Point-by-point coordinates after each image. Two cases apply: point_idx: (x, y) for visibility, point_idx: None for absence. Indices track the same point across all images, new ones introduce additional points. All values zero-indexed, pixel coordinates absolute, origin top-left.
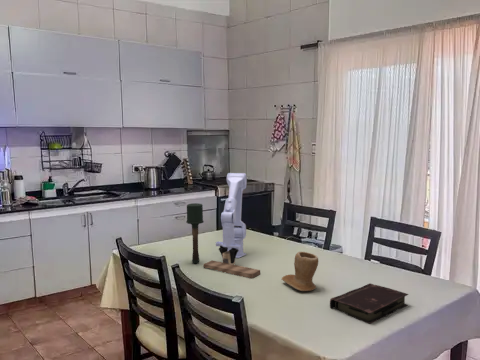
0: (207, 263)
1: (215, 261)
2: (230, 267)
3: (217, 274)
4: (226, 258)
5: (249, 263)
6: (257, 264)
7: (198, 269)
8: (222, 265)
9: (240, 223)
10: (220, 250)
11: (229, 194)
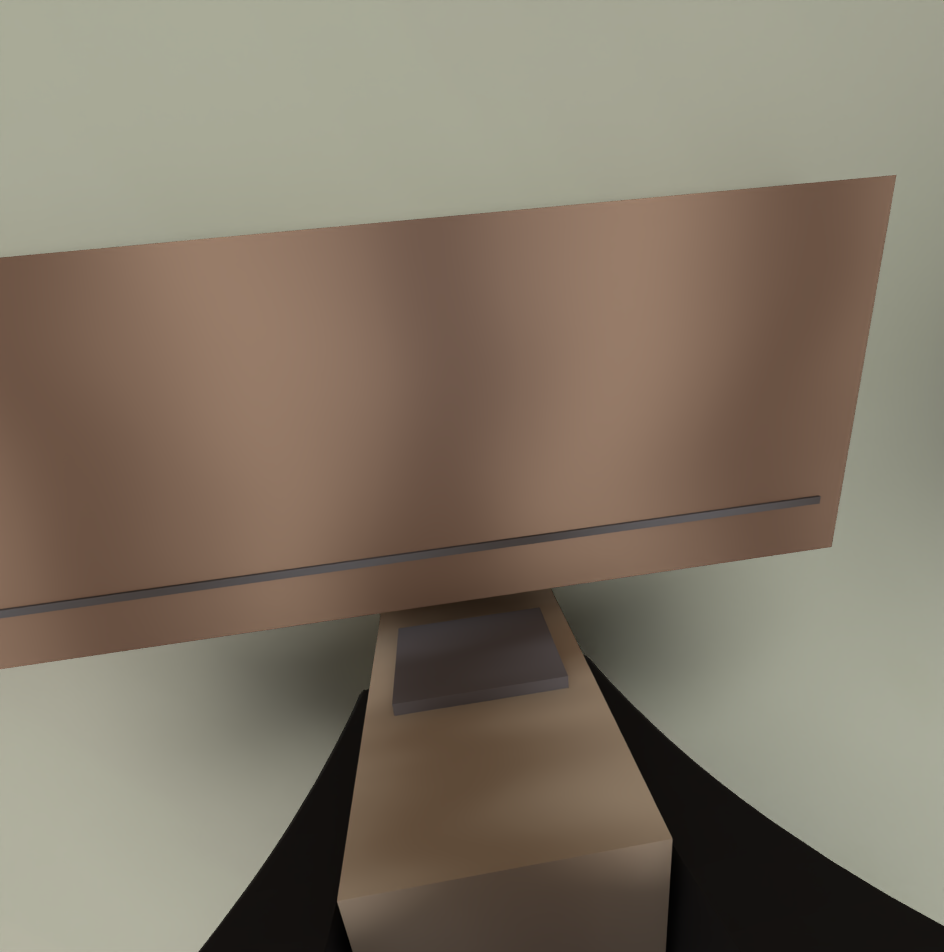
0: (814, 291)
1: (718, 537)
2: (77, 436)
3: (198, 11)
4: (461, 712)
5: None
6: (143, 931)
7: (856, 30)
8: (376, 422)
9: None
10: (852, 942)
11: None
